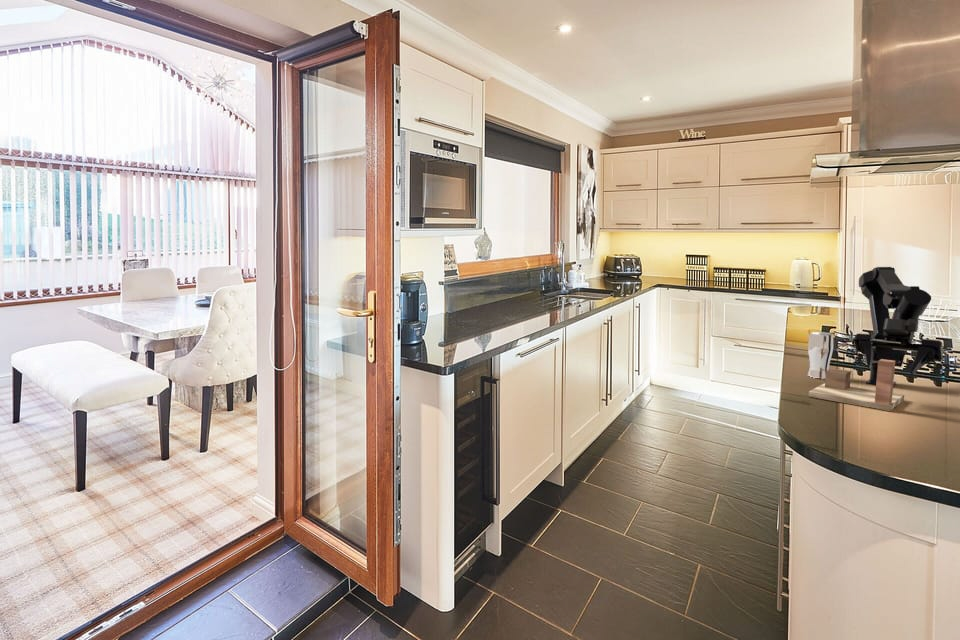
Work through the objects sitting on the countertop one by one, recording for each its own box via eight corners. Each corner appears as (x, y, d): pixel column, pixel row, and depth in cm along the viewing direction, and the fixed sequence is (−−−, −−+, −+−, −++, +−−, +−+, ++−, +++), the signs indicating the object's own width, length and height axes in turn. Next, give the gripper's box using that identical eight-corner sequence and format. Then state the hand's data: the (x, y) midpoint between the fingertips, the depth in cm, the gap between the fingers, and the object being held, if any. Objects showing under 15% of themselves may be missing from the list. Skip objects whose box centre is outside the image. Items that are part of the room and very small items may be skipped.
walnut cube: (830, 384, 154) (831, 368, 153) (849, 387, 150) (851, 370, 150) (824, 387, 151) (825, 370, 150) (844, 390, 147) (845, 373, 146)
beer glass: (835, 379, 165) (838, 335, 163) (811, 379, 166) (814, 334, 164) (825, 374, 172) (828, 331, 170) (802, 374, 173) (805, 331, 171)
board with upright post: (825, 386, 156) (828, 346, 155) (903, 399, 142) (908, 354, 140) (808, 396, 147) (811, 353, 145) (890, 411, 132) (894, 363, 131)
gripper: (858, 305, 144) (843, 348, 138) (945, 310, 130) (932, 357, 124) (863, 329, 150) (849, 371, 144) (948, 336, 136) (936, 383, 130)
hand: (889, 370), depth 136 cm, fingers open, 9 cm apart
